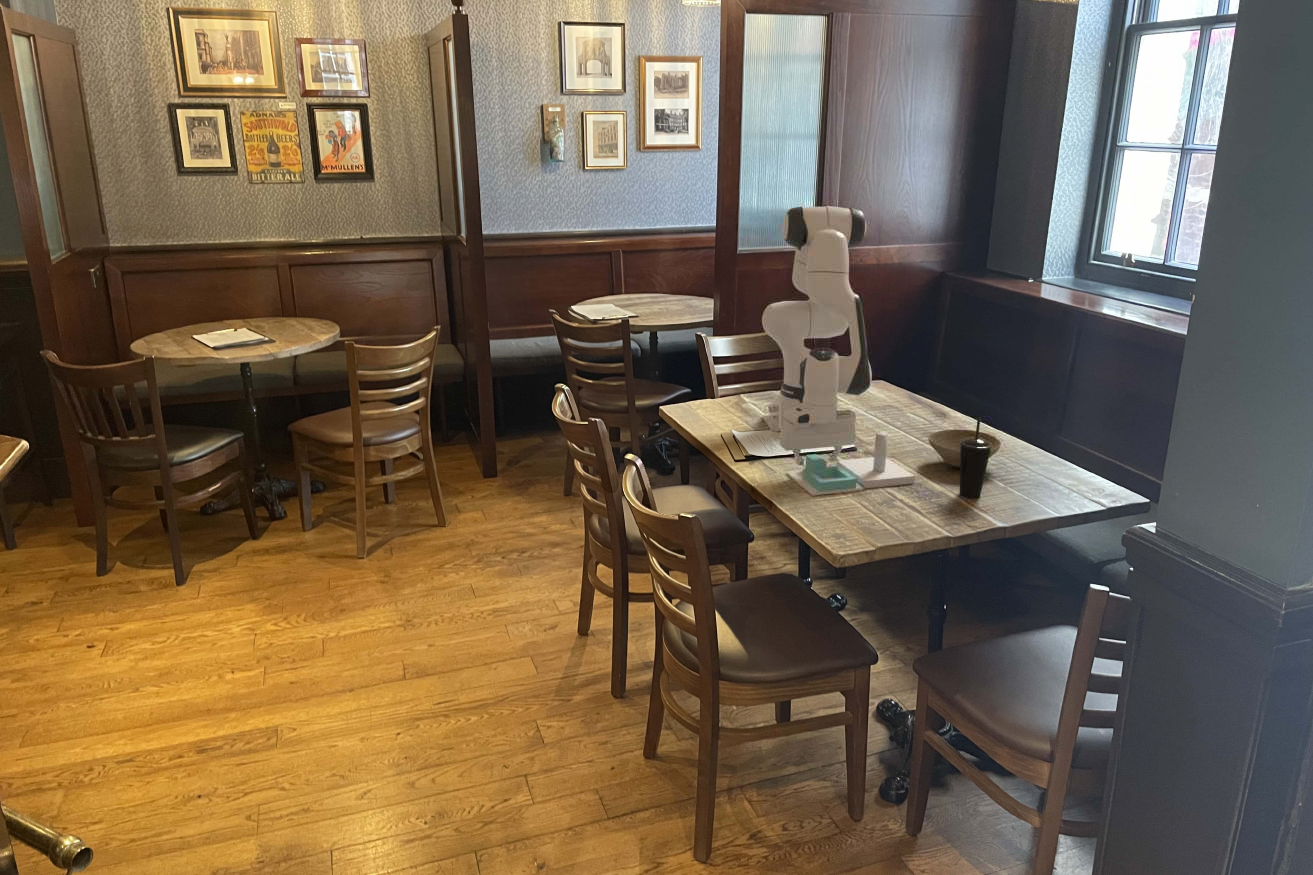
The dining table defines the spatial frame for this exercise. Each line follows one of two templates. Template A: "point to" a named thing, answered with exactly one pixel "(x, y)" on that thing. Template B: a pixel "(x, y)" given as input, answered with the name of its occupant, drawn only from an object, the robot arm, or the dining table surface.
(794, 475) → the mat
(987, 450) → the drinking cup
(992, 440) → the bowl
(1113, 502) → the dining table surface
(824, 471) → the teal square ring handle
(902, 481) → the post stand
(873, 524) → the dining table surface
